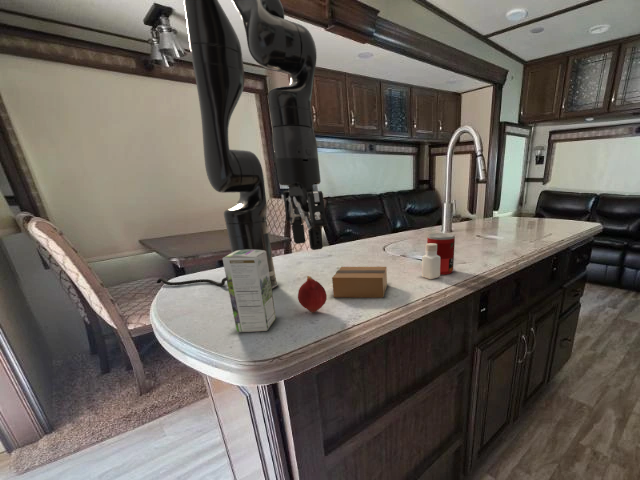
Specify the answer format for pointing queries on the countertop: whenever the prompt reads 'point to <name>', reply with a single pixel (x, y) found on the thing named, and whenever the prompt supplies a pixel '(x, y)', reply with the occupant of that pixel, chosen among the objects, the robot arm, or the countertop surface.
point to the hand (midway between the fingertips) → (308, 246)
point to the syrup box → (250, 290)
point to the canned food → (444, 250)
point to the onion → (312, 295)
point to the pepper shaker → (431, 262)
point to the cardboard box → (360, 282)
